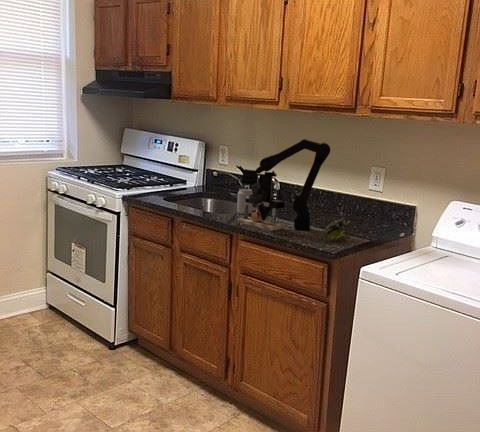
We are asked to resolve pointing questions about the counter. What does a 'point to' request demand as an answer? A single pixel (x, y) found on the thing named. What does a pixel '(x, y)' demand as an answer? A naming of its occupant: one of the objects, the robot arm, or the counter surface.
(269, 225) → the bolt plate
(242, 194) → the can
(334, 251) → the counter surface
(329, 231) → the green leafy plant
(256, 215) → the orange slider block
